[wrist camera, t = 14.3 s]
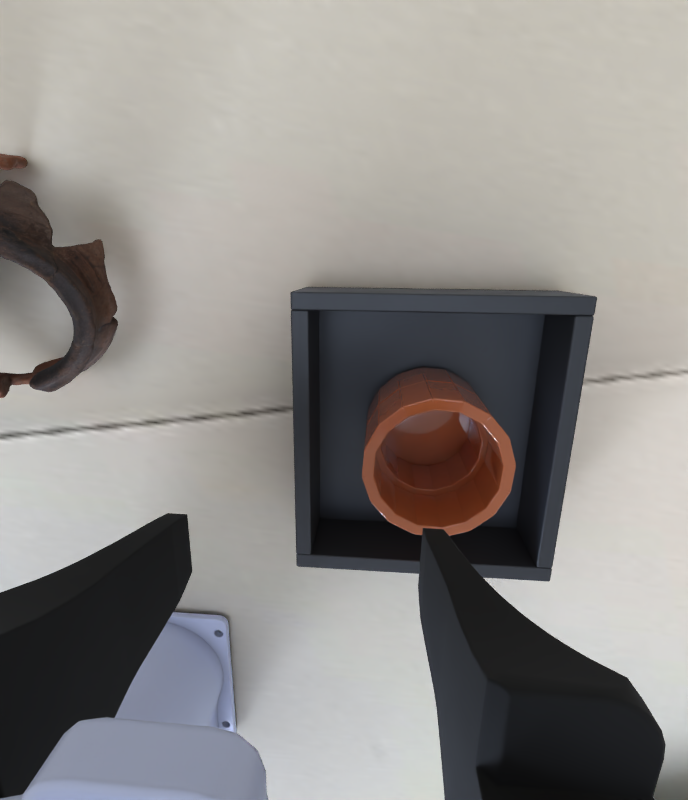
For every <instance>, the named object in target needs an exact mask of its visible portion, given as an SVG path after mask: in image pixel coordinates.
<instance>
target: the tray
mask: <svg viewBox="0 0 688 800" xmlns="http://www.w3.org/2000/svg"><path fill="white" fill-rule="evenodd" d="M596 301H597V297H595V296H589V295H583V294H576V293H570V292H563V291H543V290H477V289H412V288H346V287H305V288H302V289H299V290H296V291H293V292H291V309H292V310H291V336H292V381H293V426H294V471H295V516H296V553H297V554H296V557H297V566H299V567H316V568H333V569H350V570H367V571H383V572H400V573H417V574H419V570H420V557H421V544H422V535H416V534H412V533H410V532H408V531H406V530H404V529H402V528H400V527H398V526H396V525H394V524H392V523H390V522H389V521H387V520H386V518H385V517H384V516H383V515H382V514H381V513H380V512H379V511H378V510H377V509H376V507H375V506H374V505H373V504H372V503H371V501H370V500H369V497H368V494H367V491H366V488H365V485H364V482H363V479H362V466H363V455H364V444H365V434H366V423H367V413H368V409H369V406H370V404H371V402H372V401H373V399H374V397H375V395H376V393H377V392H378V390H380V388H381V387H382V386H383V385H385V384H386V383H387V382H388V381H390V380H391V379H392V378H393V377H395V376H396V375H398V374H400V373H403V372H407V371H410V370H413V369H417V368H422V367H423V368H434V369H444V370H447V371H449V372H451V373H453V374H455V375H457V376H459V377H461V378H462V379H464V380H466V381H467V382H468V383H469V384H470V386H471V387H472V388H473V389H474V391H475V392H476V393H477V394H478V396H479V397H480V398H481V399H482V401H483V402H484V404H485V405H486V406H487V408H488V409H489V410H490V412H491V413H492V414H493V416H494V417H495V418H496V420H497V421H498V423H499V424H500V425H501V427H502V428H503V429H504V431H505V432H506V433H507V435H508V436H509V438H510V441H511V445H512V449H513V453H514V457H515V461H516V469H515V474H514V479H513V483H512V488H511V492H510V494H509V495H508V497H507V498H506V500H505V501H504V502H503V504H502V505H501V507H500V508H499V509H498V511H497V512H496V514H495V515H494V516H492V517H491V518H489V519H488V520H486V521H485V522H483V523H482V524H480V525H479V526H477V527H476V528H474V529H472V530H470V531H468V532H463V533H459V534H455V535H450V536H449V537H450V538H451V539H452V541H453V542H454V543H455V545H456V546H457V547H458V549H459V550H460V551H461V552H462V554H463V555H464V556H465V557H466V559H467V560H468V561H469V562H470V564H471V565H472V566H473V567H474V568H475V569H476V571H477V572H478V573H479V574H480V575H481V576H482V577H484V578H501V579H518V580H535V581H550V577H551V571H552V569H551V568H552V565H553V559H554V553H555V547H556V541H557V535H558V529H559V523H560V517H561V511H562V505H563V499H564V493H565V486H566V480H567V474H568V468H569V462H570V456H571V450H572V444H573V438H574V432H575V426H576V420H577V414H578V408H579V402H580V396H581V390H582V384H583V378H584V372H585V366H586V360H587V354H588V348H589V342H590V336H591V330H592V324H593V315H594V313H595V307H596Z"/></svg>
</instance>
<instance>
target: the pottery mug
mask: <svg viewBox="0 0 688 800" xmlns="http://www.w3.org/2000/svg"><path fill="white" fill-rule="evenodd" d="M26 166H27V160H26V159H25V158H23V157H21V156H13V155H5V154H0V169H3V170H10V169H13V168H24V167H26ZM52 233H53V231H52V228H51V226H50V223H49V220H48V218H47V217H46V215H45V214H44V213H43V211H42V210H41V209H40V207H39V206H38V202H37V198H36V196H35V194H34V193H33V192H32V191H31V190H30V189H28V188H26V187H24V186H22V185H20V184H18V183H16V182H14V181H9V180H6V181H4V182H3V183H2V185H1V186H0V257H2V258H5V259H8V260H11V261H13V262H15V263H18V264H20V265H21V266H23V267H25V268H27V269H29V270H30V271H32V272H33V273H35V274H37V275H38V276H40V277H42V278H43V279H44V280H45V281H46V282H47V283H48V284H49V285H50V286H51V287H52V288H53V289H54V290H55V291H56V293H57V294H58V296H59V297H60V298H61V300H62V301H63V302H64V304H65V305H66V307H67V309H68V311H69V312H70V315H71V317H72V320H73V325H74V337H73V341H72V344H71V347H70V349H69V351H68V353H67V354H66V355H65V356H64V357H61V358H58V359H54V360H51V361H48V362H44V363H42V364H40V365H38V366H36V367H35V369H34V370H33V372H32V373H26V374H10V373H0V398H3V397H5V396H6V395H7V393H8V391H9V387H10V386H11V385H21V384H29V385H30V387H32V388H33V389H36V390H42V391H46V392H52V391H56V390H57V389H59V388H61V387H63V386H65V385H66V384H68V383H69V382H71V381H72V380H73V379H74V378H75V377H76V376H77V375H79V374H80V373H81V372H83V371H85V370H87V369H88V368H89V367H90V366H92V365H93V364H94V363H95V362H96V361H97V360H98V359H99V358H100V357H101V356H102V355H103V354H104V353H105V352H106V350H107V349H108V347H109V345H110V344H111V342H112V340H113V336H114V334H115V331H116V329H117V326H118V322H117V320H116V319H115V318H114V317H113V316H114V315H115V313H116V311H117V304H116V300H115V297H114V294H113V292H112V290H111V287H110V285H109V282H108V279H107V275H106V270H105V264H104V259H105V255H104V249H103V244H102V241H101V240H99V239H98V240H95V241H94V242H93V243H88V244H80V245H75V246H68V247H54V246H53V245H52Z"/></svg>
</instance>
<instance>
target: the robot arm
mask: <svg viewBox="0 0 688 800" xmlns="http://www.w3.org/2000/svg"><path fill="white" fill-rule="evenodd" d="M191 573H192V564H191V552H190V541H189V530H188V519H187V514H170V513H168V514H166V515H163V516H161V517H159V518H157V519H156V520H154V521H152V522H150V523H148V524H146V525H145V526H143V527H141V528H139V529H138V530H136V531H134V532H132V533H131V534H129V535H127V536H125V537H123V538H122V539H120V540H118V541H116V542H115V543H113V544H111V545H109V546H107V547H105V548H103V549H101V550H99V551H98V552H96V553H94V554H92V555H90V556H88V557H86V558H84V559H82V560H80V561H78V562H76V563H74V564H72V565H70V566H67V567H65V568H63V569H61V570H59V571H56V572H54V573H51V574H49V575H47V576H44V577H42V578H40V579H37V580H34V581H32V582H29V583H26V584H23V585H20V586H18V587H15V588H12V589H9V590H7V591H4V592H1V593H0V800H268V796H267V791H266V770H265V768H264V765H263V763H262V760H261V758H260V755H259V753H258V751H257V749H256V748H255V747H254V746H252V745H251V744H250V743H249V742H247V741H246V740H245V739H244V738H243V737H241V736H240V735H239V734H237V733H236V718H235V705H234V692H233V679H232V665H231V652H230V639H229V626H228V620H227V619H226V618H225V617H223V616H221V615H209V614H194V613H179V612H174V610H175V608H176V606H177V605H178V603H179V601H180V599H181V597H182V594H183V592H184V590H185V588H186V585H187V583H188V580H189V578H190V576H191ZM418 589H419V605H420V618H421V624H422V629H423V635H424V640H425V645H426V650H427V656H428V661H429V666H430V671H431V677H432V682H433V687H434V693H435V699H436V706H437V715H438V726H439V737H440V747H441V759H442V771H443V782H444V794H445V800H654V798H653V794H654V791H655V787H656V784H657V780H658V777H659V774H660V770H661V767H662V763H663V760H664V753H665V741H664V738H663V734H662V730H661V729H660V727H659V725H658V724H657V722H656V721H655V719H654V717H653V716H652V714H651V712H650V710H649V709H648V707H647V706H646V704H645V702H644V701H643V699H642V698H641V696H640V695H639V693H638V692H637V691H636V689H635V688H634V687H633V685H632V684H631V682H630V681H629V679H628V678H627V677H625V676H623V675H621V674H619V673H617V672H615V671H613V670H611V669H609V668H607V667H605V666H603V665H601V664H599V663H597V662H595V661H593V660H591V659H589V658H587V657H586V656H584V655H582V654H580V653H579V652H577V651H575V650H574V649H572V648H570V647H569V646H567V645H565V644H564V643H562V642H561V641H559V640H558V639H556V638H554V637H553V636H551V635H550V634H548V633H547V632H546V631H544V630H543V629H541V628H540V627H539V626H537V625H536V624H534V623H533V622H532V621H530V620H529V619H528V618H526V617H525V616H524V615H523V614H521V613H520V612H519V611H518V610H517V609H515V608H514V607H513V606H512V605H511V604H510V603H508V602H507V601H506V600H505V599H504V598H503V597H502V596H501V595H499V594H498V593H497V592H496V591H495V590H494V589H493V588H492V587H491V586H490V585H489V584H488V583H487V582H486V581H485V579H484V578H483V577H482V576H481V575H480V574H479V573H478V572H477V571H476V569H475V568H474V567H473V566H472V565H471V564H470V562H469V561H468V560H467V559H466V557H465V556H464V555H463V554H462V552H461V551H460V550H459V549H458V547H457V546H456V545H455V543H454V542H453V541H452V539H451V538H450V537H449V535H448V534H447V533H446V531H445V530H444V529H431V528H423V531H422V544H421V557H420V570H419V584H418ZM218 630H220V631H221V632H219V631H218Z"/></svg>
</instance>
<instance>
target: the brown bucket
mask: <svg viewBox="0 0 688 800" xmlns="http://www.w3.org/2000/svg"><path fill="white" fill-rule="evenodd" d="M515 469H516V461H515V457H514V453H513V449H512V445H511V441H510V438H509V436H508V435H507V433H506V432H505V431H504V429H503V428H502V427H501V425H500V424H499V423H498V421H497V420H496V418H495V417H494V416H493V414H492V413H491V412H490V410H489V409H488V408H487V406H486V405H485V404H484V402H483V401H482V399H481V398H480V397H479V396H478V394H477V393H476V392H475V391H474V389H473V388H472V387H471V386H470V384H469V383H468V382H467V381H466V380H464V379H462V378H461V377H459V376H457V375H455V374H453V373H451V372H449V371H447V370H444V369H434V368H423V367H422V368H417V369H413V370H410V371H407V372H403V373H400V374H398V375H396V376H395V377H393V378H392V379H391V380H390V381H388V382H387V383H386V384H385V385H383V386H382V387H381V388H380V390H378V392H377V393H376V395H375V397H374V399H373V401H372V402H371V404H370V406H369V409H368V413H367V423H366V434H365V444H364V455H363V466H362V479H363V482H364V485H365V488H366V491H367V494H368V497H369V500H370V501H371V503H372V504H373V505H374V506H375V507H376V509H377V510H378V511H379V512H380V513H381V514H382V515H383V516H384V517H385V518H386V520H387V521H389V522H390V523H392V524H394V525H396V526H398V527H400V528H402V529H404V530H406V531H408V532H410V533H412V534H416V535H422V531H423V528H431V529H444V530H445V531H446V533H447V534H448V535H449V536H450V535H455V534H459V533H463V532H468V531H470V530H472V529H474V528H476V527H477V526H479V525H480V524H482V523H483V522H485V521H486V520H488V519H489V518H491V517H492V516H494V515H495V514H496V512H497V511H498V509H499V508H500V507H501V505H502V504H503V502H504V501H505V500H506V498H507V497H508V495H509V494H510V492H511V488H512V483H513V479H514V474H515Z"/></svg>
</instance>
